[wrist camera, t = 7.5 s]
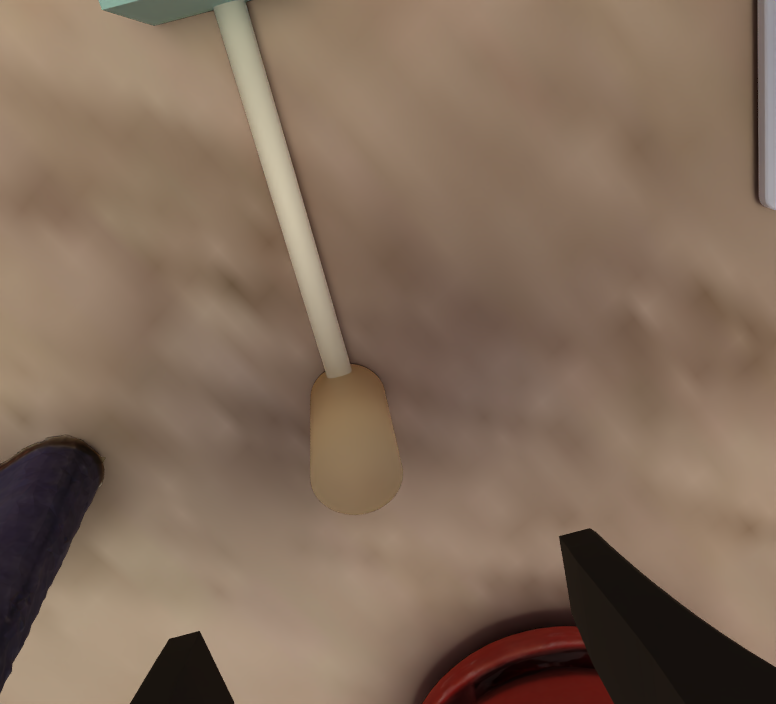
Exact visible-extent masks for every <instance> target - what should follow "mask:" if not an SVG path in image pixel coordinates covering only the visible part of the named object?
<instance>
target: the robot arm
mask: <svg viewBox="0 0 776 704" xmlns="http://www.w3.org/2000/svg"><path fill="white" fill-rule="evenodd" d="M758 148H759V199H760V202H761V204H762V205H763V206H764V207H767V208H770V209H773V210H776V0H758ZM559 539H560V545H561V551H562V557H563V563H564V569H565V575H566V581H567V587H568V594H569V600H570V606H571V612H572V615H573V618H574V620H575V623H576V625H577V628H578V630H579V632H580V635H581V637H582V640H583V642H584V645H585V647H586V649H587V652H588V654H589V656H590V659H591V661H592V664H593V665H594V667H595V669H596V671H597V673H598V675H599V677H600V679H601V680H602V682H603V684H604V686H605V688H606V690H607V692H608V693H609V695H610V697H611V699H612V701H613V703H614V704H776V667H774V666H773V665H771V664H769V663H768V662H766V661H765V660H763V659H761V658H760V657H758V656H756V655H755V654H753V653H751V652H750V651H748V650H747V649H745V648H743V647H742V646H740V645H739V644H737V643H736V642H734V641H733V640H731V639H730V638H728V637H727V636H725V635H724V634H722V633H721V632H719V631H718V630H716V629H715V628H714V627H712V626H711V625H709V624H708V623H706V622H705V621H704V620H702V619H701V618H699V617H698V616H696V615H695V614H694V613H692V612H691V611H690V610H688V609H687V608H686V607H684V606H683V605H682V604H680V603H679V602H678V601H676V600H675V599H674V598H673V597H671V596H670V595H669V594H667V593H666V592H665V591H664V590H662V589H661V588H660V587H658V586H657V585H656V584H655V583H653V582H652V581H651V580H650V579H648V578H647V577H646V576H645V575H644V574H642V573H641V572H640V571H639V570H638V569H636V568H635V567H634V566H633V565H632V564H631V563H629V562H628V561H627V560H626V559H625V558H624V557H623V556H621V555H620V554H619V553H618V552H617V551H616V550H615V549H614V548H612V547H611V546H610V545H609V544H608V543H607V542H606V541H605V540H604V539H603V538H602V537H601V536H600V535H599V534H597V533H596V532H595V531H593V530H592V529H590V528H589V529H585V530H581V531H577V532H573V533H570V534H566V535H562V536H559ZM130 704H234V701H233V699H232V697H231V695H230V693H229V691H228V689H227V687H226V685H225V682H224V680H223V678H222V676H221V674H220V672H219V670H218V668H217V666H216V664H215V662H214V660H213V658H212V656H211V653H210V651H209V649H208V647H207V645H206V643H205V641H204V639H203V637H202V635H201V633H200V631H198V632H194V633H190V634H186V635H182V636H179V637H175V638H171V639H169V640H168V642H167V644H166V645H165V647H164V648H163V650H162V652H161V653H160V655H159V656H158V658H157V660H156V661H155V663H154V665H153V666H152V668H151V670H150V671H149V673H148V675H147V676H146V678H145V679H144V681H143V683H142V684H141V686H140V688H139V689H138V691H137V693H136V694H135V696H134V698H133V699H132V701H131V703H130Z"/></svg>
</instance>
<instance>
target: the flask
mask: <svg viewBox="0 0 776 704" xmlns="http://www.w3.org/2000/svg"><path fill="white" fill-rule="evenodd" d="M104 460H105V457H101V456H100V455H99V454H98V453H97V452H96V451H95V450H93V449H92V448H91V447H90V446H89V445H87V444H86V443H85V442H84V441H83V440H81V439H77V438H73V437H71V436H69V435H63V436H58V437H50V438H46V439H45V440H44V441H43V442H40V443H36V444H33V445H31V446H29V447H26V448H24V449H22V451H21V452H18V453H17V454H16V455H15V456H13V457H12V458H11V459H9V460H8V461H6V462H3V463H2V464H0V693H1V691H2V688H3V686H4V683H5V681H6V680H7V678H8V677H9V675H10V674H11V672H12V663H13V662H14V660H15V658H16V657H17V655H18V653H19V652H20V650H21V648H22V647H23V645H24V642H25V640H26V638H27V636H28V635H29V632H30V628H31V625H32V623H33V621H34V620H35V618H36V616H37V615H38V613H39V610H40V607H41V604H42V602H43V600H44V599H45V598H46V594H47V591H48V589H49V587H50V586H51V585H52V582H53V580H54V578H55V576H56V574H57V572H58V570H59V569H60V567H61V565H62V562H63V560H64V558H65V556H66V554H67V552H68V549H69V547H70V544H71V541H72V539H73V537H74V535H75V534H76V532H77V530H78V529H79V527H80V524H81V521H82V519H83V516H84V514H85V512H86V511H87V509H88V507H89V506H90V504H91V502H92V500H93V498H94V496H95V493H96V491H97V489H98V488H99V487H100V486H101V485H102V482H103V478H104V473H103V472H104V466H103V462H104Z"/></svg>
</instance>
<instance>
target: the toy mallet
mask: <svg viewBox="0 0 776 704" xmlns="http://www.w3.org/2000/svg"><path fill="white" fill-rule="evenodd" d="M247 1H251V0H99V3H100V6H101V8H102V10H104V11H107V12H111V13H114V14H117V15H121V16H124V17H127V18H130V19H134V20H137V21H140V22H143V23H147V24H150V25H153V26H155V25H159V24H163V23H166V22H170V21H174V20H178V19H182V18H186V17H190V16H193V15H197V14H201V13H205V12H209V11H213V10H214V12H215V16H216V19H217V22H218V25H219V29H220V32H221V35H222V38H223V42H224V45H225V48H226V51H227V55H228V58H229V61H230V64H231V68H232V71H233V74H234V77H235V81H236V84H237V87H238V90H239V94H240V97H241V100H242V103H243V106H244V110H245V113H246V116H247V119H248V123H249V126H250V129H251V132H252V136H253V139H254V142H255V145H256V149H257V152H258V155H259V158H260V162H261V165H262V168H263V171H264V175H265V178H266V181H267V184H268V188H269V191H270V194H271V197H272V201H273V204H274V207H275V210H276V214H277V217H278V220H279V223H280V226H281V230H282V233H283V236H284V239H285V243H286V246H287V249H288V252H289V256H290V259H291V262H292V265H293V269H294V272H295V275H296V278H297V282H298V285H299V288H300V291H301V295H302V298H303V301H304V304H305V308H306V311H307V314H308V317H309V321H310V324H311V327H312V330H313V334H314V337H315V340H316V343H317V347H318V350H319V353H320V356H321V359H322V363H323V366H324V369H325V372H324V373H323V374H321V375H320V376H319V378H318V379H317V380H316V382H315V383H314V385H313V388H312V390H311V398H310V481H311V486H312V489H313V492H314V494H315V495H316V497H317V498H318V499H319V501H320V502H321V503H323V504H324V505H325V506H326V507H328V508H330V509H331V510H333V511H336V512H339V513H343V514H349V515H359V514H366V513H370V512H373V511H375V510H378V509H380V508H381V507H383V506H385V505H386V504H387V503H388V502H390V501H391V500H392V499H393V497H394V496H395V495H396V493H397V492H398V490H399V488H400V486H401V483H402V478H403V469H402V464H401V459H400V455H399V451H398V446H397V442H396V438H395V433H394V429H393V425H392V420H391V416H390V412H389V408H388V403H387V399H386V395H385V390H384V387H383V384H382V382H381V380H380V379H379V378H378V376H377V375H376V374H375V373H373V372H372V371H371V370H369V369H367V368H365V367H363V366H360V365H355V364H350V362H349V358H348V355H347V351H346V348H345V344H344V341H343V337H342V334H341V330H340V327H339V324H338V320H337V317H336V313H335V310H334V306H333V303H332V299H331V296H330V292H329V289H328V286H327V282H326V279H325V275H324V272H323V268H322V265H321V261H320V258H319V254H318V251H317V248H316V244H315V241H314V237H313V234H312V230H311V227H310V223H309V220H308V216H307V213H306V210H305V206H304V203H303V199H302V196H301V192H300V189H299V185H298V182H297V178H296V175H295V171H294V168H293V165H292V161H291V158H290V154H289V151H288V147H287V144H286V140H285V137H284V133H283V130H282V127H281V123H280V120H279V116H278V113H277V109H276V106H275V102H274V99H273V95H272V92H271V89H270V85H269V82H268V78H267V75H266V71H265V68H264V64H263V61H262V57H261V54H260V51H259V47H258V44H257V40H256V37H255V33H254V30H253V26H252V23H251V19H250V16H249V13H248V9H247V6H246V2H247Z"/></svg>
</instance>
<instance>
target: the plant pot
mask: <svg viewBox="0 0 776 704" xmlns="http://www.w3.org/2000/svg"><path fill="white" fill-rule="evenodd" d="M422 704H614V703H613V701H612V699H611V697H610V695H609V693H608V692H607V690H606V688H605V686H604V684H603V682H602V680H601V679H600V677H599V675H598V673H597V671H596V669H595V667H594V665H593V664H592V661H591V659H590V656H589V654H588V652H587V649H586V647H585V645H584V642H583V640H582V637H581V635H580V632H579V630H578V628H577V626H558V627H548V628H540V629H534V630H529V631H525V632H521V633H518V634H514V635H511V636H507V637H505V638H502V639H500V640H497V641H495V642H493V643H490V644H488V645H486V646H484V647H483V648H481V649H479V650H477V651H476V652H474V653H472V654H470V655H469V656H468V657H466V658H465V659H463V660H462V661H461V662H459V663H458V664H457V665H456V666H455V667H453V668H452V669H451V670H450V671H449V672H448V673H447V674H446V675H445V676H444V677H443V678H441V679H440V681H439V682H438V683H437V684H436V685H435V686H434V687H433V689H432V690H431V691H430V693H429V694H428V696H427V697H426V698H425V700H424V702H423V703H422Z"/></svg>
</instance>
